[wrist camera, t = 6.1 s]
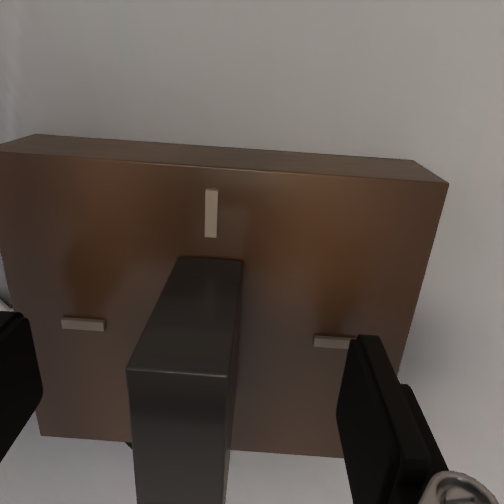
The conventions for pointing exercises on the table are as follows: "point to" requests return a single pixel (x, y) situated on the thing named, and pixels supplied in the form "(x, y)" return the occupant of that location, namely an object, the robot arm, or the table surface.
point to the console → (212, 247)
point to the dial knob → (186, 385)
